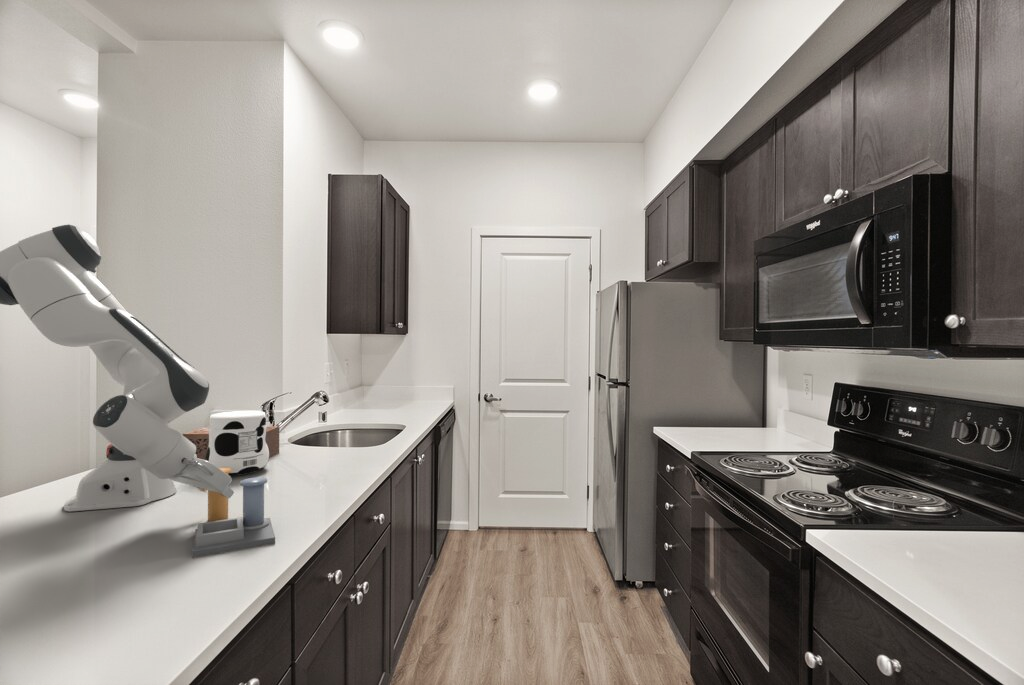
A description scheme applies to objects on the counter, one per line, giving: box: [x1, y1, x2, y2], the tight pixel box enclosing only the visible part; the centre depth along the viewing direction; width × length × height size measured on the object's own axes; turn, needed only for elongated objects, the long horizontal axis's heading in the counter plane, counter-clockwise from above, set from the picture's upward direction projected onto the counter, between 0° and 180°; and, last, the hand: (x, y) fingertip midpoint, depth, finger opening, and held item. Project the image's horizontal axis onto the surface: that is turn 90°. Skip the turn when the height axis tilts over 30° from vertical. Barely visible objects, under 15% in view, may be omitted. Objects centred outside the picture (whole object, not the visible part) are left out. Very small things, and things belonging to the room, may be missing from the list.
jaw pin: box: [207, 468, 231, 522], centre depth 114 cm, size 5×5×11 cm
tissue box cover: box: [182, 425, 280, 460], centre depth 175 cm, size 26×14×10 cm, turn 94°
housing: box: [191, 476, 276, 559], centre depth 103 cm, size 14×13×11 cm
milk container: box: [205, 410, 270, 477], centre depth 156 cm, size 17×17×18 cm
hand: (218, 491), depth 114 cm, fingers open, 8 cm apart
